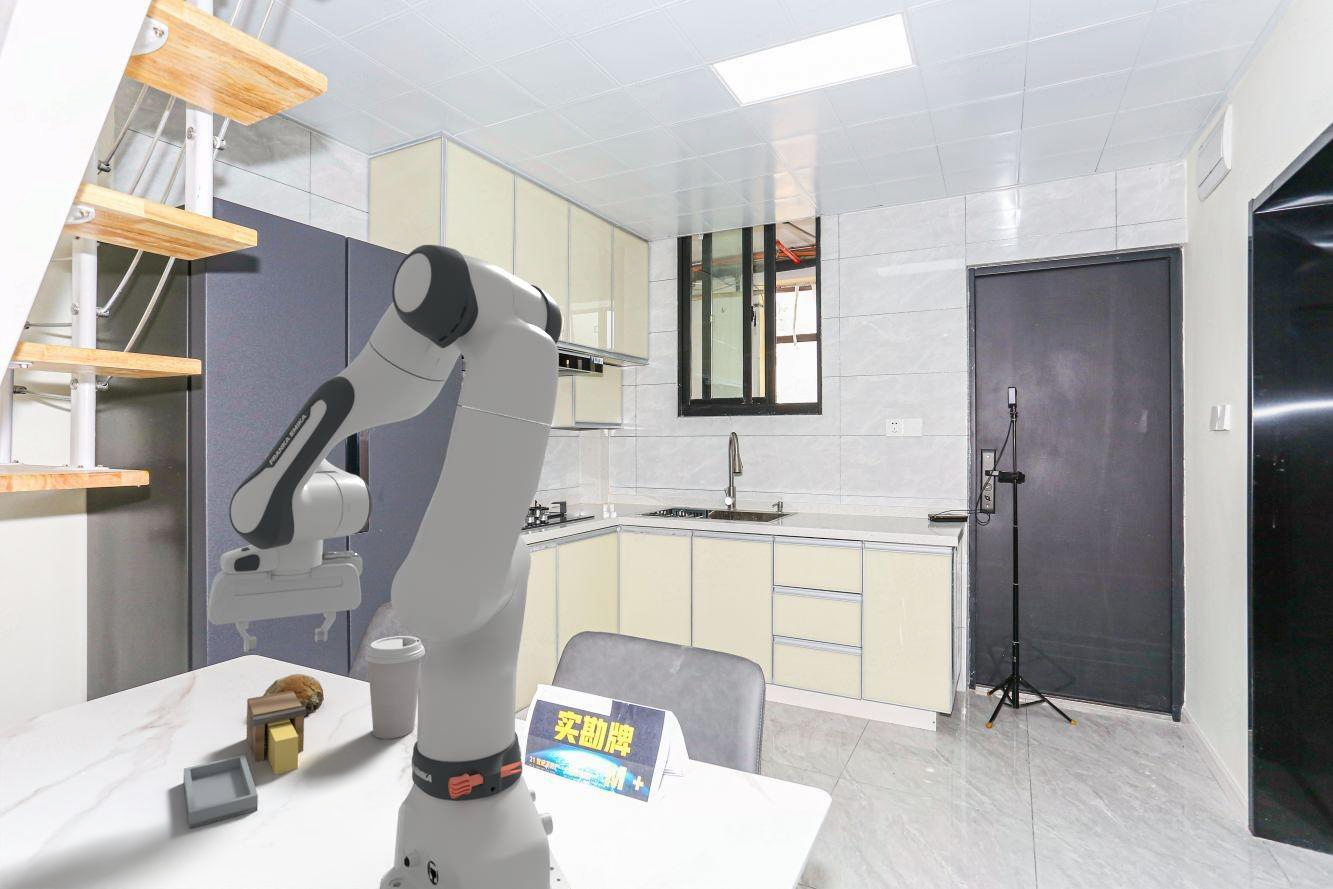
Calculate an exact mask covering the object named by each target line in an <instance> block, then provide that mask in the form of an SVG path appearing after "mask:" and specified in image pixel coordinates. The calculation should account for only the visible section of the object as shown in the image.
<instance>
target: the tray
mask: <svg viewBox="0 0 1333 889" xmlns="http://www.w3.org/2000/svg"><path fill="white" fill-rule="evenodd" d="M183 789H184V797H185V798H184V799H185V806H186V814H187V822H188V829H189V830H190V829H193V828H197V827H201V826H204V825H209V824H211V823H215V822H219V821H222V820H227V819H231V818H233V817H237V816H240V815H244V814H249V813H252V812H255V811H258V804H259V803H258V802H259V800H258V799H259V797H258V796H259V795H258V792H257V788H256V785H255V782H254V779H253V776H252V772H251V771H250V767H249V764H248V760H247V758H246V754H241V755H237V756H233V757H229V758H223V759H220V760H216V761H210V762H206V763H203V764H198V765H193V766H188V767H186V768H183Z"/></svg>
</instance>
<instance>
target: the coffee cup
mask: <svg viewBox="0 0 1333 889" xmlns="http://www.w3.org/2000/svg"><path fill="white" fill-rule="evenodd" d="M425 654H426V650H425V647H424V645H423V644H422V642H421V638H419V637H416V636H410V635H398V636H397V635H395V636H388V637H387V636H386V637H383V638H380V639H376V640H374V641H372V642H371V643H370V645H369V648H368V649H367V650H366V652H365V655H364V659H365V661H367V664H368V665H367V667H368V679H369V681H368V682H369V693H370V706H371V707H370V708H371V719H372V721H371V722H372V732H373V736H374V737H376V738H378V739H386V740H387V739H396V738H401V737H405V736H407V735H409V734H411V733H412V732H413V731H414V730H415V726H416V725H415V724H416V715H417V714H416V713H417V708H418V681H419V676H420V672H421V669H422V662H423V661H422V660H423V656H425Z"/></svg>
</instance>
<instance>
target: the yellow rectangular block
mask: <svg viewBox="0 0 1333 889" xmlns="http://www.w3.org/2000/svg"><path fill="white" fill-rule="evenodd" d="M264 753H265V754H266V757H267V759H268V761H269V764H270V766H272V767H271V769H272V771H273V774H274V775H278V773H279V774H282V772H283V773H286V772H291V771H294V769H295V770H297V769H298V768H299V752H298V735H297V733H296V731H295V729H294V727H293V725H292V724H291V722H290V720H289V719H286V720H282V721H277V722H272V723H267V724H265V737H264Z"/></svg>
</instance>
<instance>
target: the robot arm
mask: <svg viewBox="0 0 1333 889" xmlns="http://www.w3.org/2000/svg"><path fill="white" fill-rule="evenodd" d="M391 287H392V289H391V294H392V303H391V304H390V305H389V307H388V308H387V309H386V311H385V312H384V314H383V315H382V316H381V318H380V320H379V321H378V324H377V325H376V326H375V328H374V330H373V331H372V334H371V335H370V337H369V340H367V343H366V344H365V346H364V348H363V349H362V351H361V352H360V353H359V354H358V355H357V356H356V357H355V359H353V361H352V362H351V363H349V365H347V367H346V368H344V369H343V370H342V371H340V373H338V374H336V375H335V376H333V377H332V378H330V379H328V380H326V381H325V382H324V383H322V384H321V385H320V386H319V387H318V388H317V389H316V390H315V391H314V392H313V393H312V395H311V396H310V397H308V399H307V401H306V402H305V403H304V404H303V406H302V407H301V409H299V411H298V413H297V414H296V416H294V418H293V419H292V421H291V423H290V424H289V426H287V428H286V429H285V431H284V432H283V433H282V435H281V437H280V438H279V439H278V440H277V442H276V443H275V444H274V445H273V447H272V449H271V450H270V451H269V453H268V454H266V455H265V458H264V460H263V461H262V463H260V464H259V466H258V467H257V468H256V469H255V470H254V471H253V472H251V473H250V474H249V475H248V476H247V477H246V478H244V480H243V481H242V482H241V483H240V485H238V487H237V488H236V490H235V492H234V493H233V495H232V497H231V500H230V504H229V511H228V512H229V521H230V524H231V526H232V528H233V529H234V531H235V533H237V534H238V536H239V537H241V538H242V539H243V540H244V541H246V543H248V544H249V545H246V546H242V547H239V548H236V549H233V550H229V551H226V552H224V553H222V555H221V556H220V560H219V565H220V566H219V567H220V568H221V569H222V570H220V571H218V573H217V574H216V575H215V577H214V578H213V581H212V583H211V588H210V591H209V598H208V605H207V619H208V620H209V622H211V623H212V624H213V625H216V626H219V625H226V624H227V625H228V624H235V628H236V630H237V631H238V633H239V635H240V636H241V637H242V639H243V650H244V653H245V652H247V653H248V652H254V651H257V650H258V646H257V644H258V638H257V637H256V635H254V636H250V635H249V634H248V633H247V631H246V630H248V629H249V628H250V627H249V626H250V625H249V624H250V622H254V621H255V622H256V621H262V620H263V621H265V620H273V619H281V618H289V617H290V618H292V617H298V616H308V615H317V614H323V617H324V618H325V619H324V621H323V623H322V625H321V626H320V627H319V628H315V629H314V633H315V635H314V641H315V642H316V643H320V642H327V641H328V634H329V632H328V631H329V630H330V629H331V627H332V625H333V623H334V622H335V620H336V619H337V612H343V611H344V612H345V611H352V610H353V611H354V610H357V608H358V607H359V606H360V605H361V604H362V603H361V602H362V591H361V588H362V587H361V582H360V576H361V575H362V573H363V564H364V563H363V562H364V561H363V558H362V556H361V555H360V554H358V553H355V552H354V551H353V550H344V551H323V550H324V540H328V539H335V538H336V539H337V538H343V537H348V536H352V535H353V534H358V533H359V532H361V531H362V530H363V529H364V528H365V527H366V525H367V524H368V522H369V520H370V518H371V515H372V512H373V497H372V496H373V494H372V491H371V489H370V487H369V485H368V483H367V482H366V480H364V479H363V478H362V477H361V476H360V475H358V474H355V473H350V472H347V471H345V470H343V469H341V468H339V467H337V466H335V465H334V464H332V463H330V462H329V461H328V460H327V459H326V458H327V457H328V455H329V454H330V452H331V451H332V450H333V448H334V447H335V446H336V445H338V444H339V443H340V442H341V441H343V440H344V439H346V438H349V437H350V436H352V435H355V434H357V433H359V432H362V431H365V430H368V429H373V428H375V427H378V426H383V425H388V424H393V423H397V422H402V421H406V420H410V419H411V418H414V417H417V416H418V415H420V414H422V413H423V412H424V411H425V410H426V409H428V407H429V406H430V405H432V403H433V402H434V401H435V400H436V399H437V397H438V396H439V394H440V392H441V390H442V389H443V387H444V385H445V384H446V381H447V380H448V378H449V376H450V375H451V372H452V370H453V369H454V367H455V364H456V363H457V360H458V359H459V357H460V355H462V356H463V359H464V362H465V372H464V378H463V381H462V385H461V388H460V391H459V392H460V393H459V395H458V396H459V397H458V401H457V405H456V410H455V414H454V420H453V423H452V428H451V431H450V436H449V440H448V445H447V449H446V455H445V459H444V463H443V466H442V470H441V473H440V477H439V479H438V482H437V485H436V487H435V490H434V492H433V495H432V497H431V500H430V502H429V504H428V506H427V509H426V510H425V513H424V516H423V518H422V521H421V523H420V526H419V529H418V531H417V534H416V535H415V539H414V542H413V544H412V546H411V548H410V551H409V552H408V554H407V556H406V558H405V559H404V561H403V563H402V564H401V566H400V567H399V568H398V570H397V571H396V573H395V575H394V577H393V580H392V583H391V588H390V589H391V590H390V603H391V607H392V610H393V613H394V615H395V617H396V620H397V621H398V623H400V625H401V626H402V627H403V628H404V629H405V630H406V631H407V632H408V633H410V634H411V635H413V637H416V638H418V639H420V640H425V641H429V644H428V649H427V653H426V657H425V658H424V659H425V660H424V662H423V664H422V666H421V670H420V676H419V681H418V698H417V726H416V728H417V731H416V732H417V734H416V735H417V738H416V740H417V741H416V742H415V743H414V745H413V748H412V750H413V751H412V755H411V765H410V766H411V771H412V773H411V779H412V781H413V784H412V786H411V789H410V791H409V793H408V794H407V796H406V798H405V799H404V800H403V802H402V803H401V804H400V806H399V808H398V813H397V814H398V815H397V824H396V836H395V846H394V858H393V859H394V860H393V867H392V868H390V869H389V870H388V871H387V872H386V873H385V874H384V875H383V876H382V878H381V879H380V882H379V889H571V888H572V887H571V886H570V883H569V882H568V880H567V878H566V877H565V874H564V873H563V870H562V868H561V867H560V865H559V863H558V861H557V860H556V858H555V856H554V854H553V853H552V850H551V849H550V844H549V838H548V836H549V835H552V833H553V831H554V824H553V817H552V815H551V814H550V812H544V813H541V814H539V813H538V810H537V806H536V805H535V802H536V791H535V790H534V789H529V788H528V785H527V783H526V781H525V779H524V778H525V777H524V776H523V761H522V750H521V746H520V743H519V735H518V733H517V732H516V704H517V702H516V701H517V700H516V695H517V691H516V690H517V671H518V669H517V668H518V662H519V653H520V648H521V640H522V634H523V627H524V619H525V613H526V612H525V611H526V604H527V603H526V601H527V593H528V583H529V582H528V581H529V575H530V572H531V567H532V566H531V564H532V556H531V551H530V548H529V546H528V544H527V543H526V541H525V539H524V538H523V537H522V536H521V533H522V529H523V527H524V524H525V521H526V518H527V515H528V512H529V510H530V507H531V504H532V502H533V500H534V498H535V496H536V494H537V492H538V489H539V485H540V480H541V475H542V470H543V467H544V466H543V465H544V461H545V458H546V454H547V449H548V448H547V447H548V443H549V438H550V434H551V430H552V426H551V425H553V421H554V415H555V409H556V402H557V395H558V394H557V393H558V384H559V373H560V372H559V368H560V365H559V363H560V361H559V359H560V357H559V356H560V354H559V348H558V345H557V344H558V342H559V339H560V336H561V333H562V329H563V328H562V327H563V320H562V313H561V310H560V307H559V306H558V303H557V302H556V301H555V300H554V298H552V297H551V296H550V295H549V294H548V293H547V292H546V291H544V290H543V289H541V288H540V287H538V286H537V285H534V284H529V283H527V282H526V281H524V280H523V279H521V278H519V277H517V276H515V275H514V274H511V273H510V272H508V271H505V270H504V269H503V268H502V267H500V266H498V265H496V264H494V263H491V262H488V261H485V260H483V259H480V258H478V257H473V256H470V255H466V254H464V253H461V252H460V251H459V250H457V249H455V248H452V247H447V246H443V245H435V244H423V245H419V246H418V247H415V248H414V249H412V250H411V251H410V252H409V253H408V254H407V255H406V256H405V257H404V258H403V259H402V261H401V263H400V264H399V265H398V268H397V270H396V272H395V274H394V278H393V281H392V286H391Z"/></svg>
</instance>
